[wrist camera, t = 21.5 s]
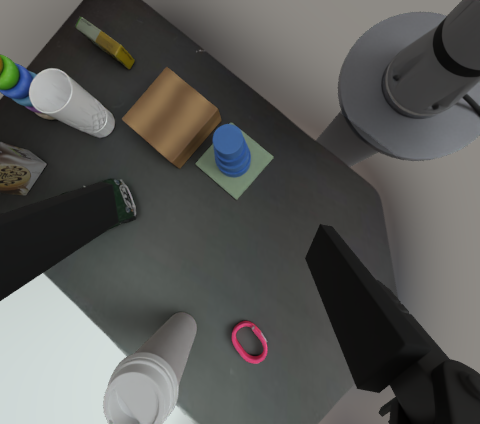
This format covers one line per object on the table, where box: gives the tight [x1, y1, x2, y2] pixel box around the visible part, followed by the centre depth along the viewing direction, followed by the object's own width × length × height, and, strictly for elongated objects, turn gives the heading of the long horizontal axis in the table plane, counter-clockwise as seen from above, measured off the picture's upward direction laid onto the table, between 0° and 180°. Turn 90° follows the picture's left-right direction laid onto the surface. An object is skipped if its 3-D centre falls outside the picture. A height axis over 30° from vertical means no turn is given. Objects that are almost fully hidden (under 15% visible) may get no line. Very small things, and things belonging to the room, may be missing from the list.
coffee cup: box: [103, 312, 197, 424], centre depth 28 cm, size 10×10×15 cm
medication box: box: [75, 16, 135, 70], centre depth 37 cm, size 12×3×4 cm, turn 53°
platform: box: [122, 67, 221, 169], centre depth 36 cm, size 14×14×4 cm
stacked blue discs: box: [213, 124, 251, 177], centre depth 31 cm, size 7×7×10 cm
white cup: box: [29, 69, 115, 138], centre depth 34 cm, size 8×8×10 cm
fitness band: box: [232, 321, 267, 363], centre depth 34 cm, size 8×6×2 cm
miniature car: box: [61, 179, 136, 230], centre depth 34 cm, size 9×18×8 cm, turn 114°
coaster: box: [196, 122, 274, 200], centre depth 37 cm, size 12×12×1 cm
